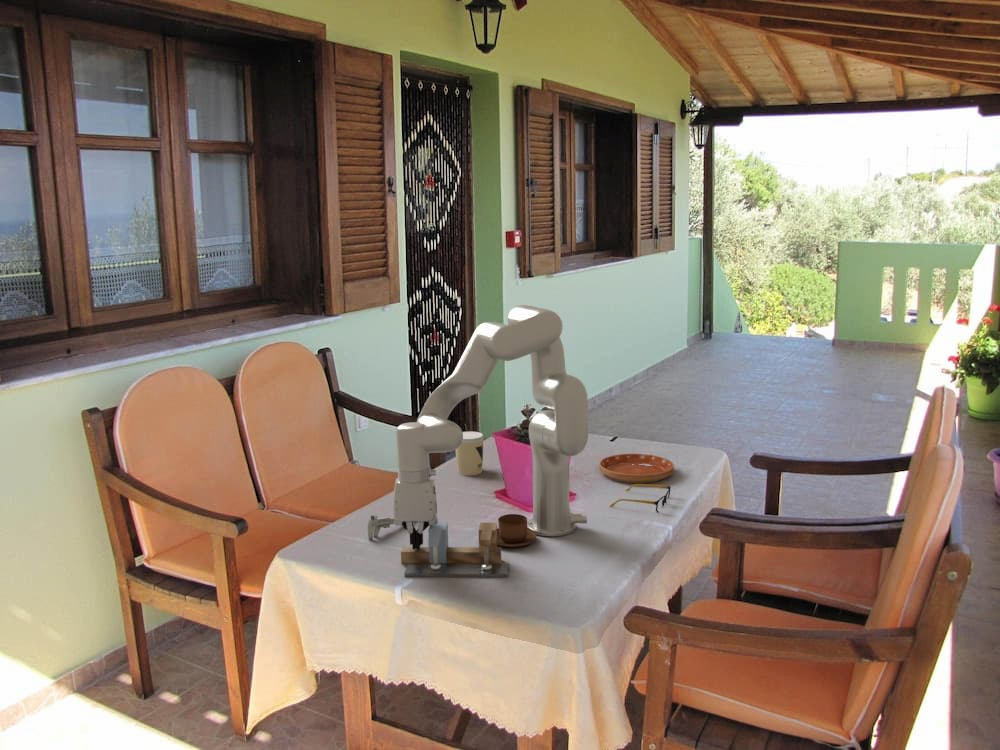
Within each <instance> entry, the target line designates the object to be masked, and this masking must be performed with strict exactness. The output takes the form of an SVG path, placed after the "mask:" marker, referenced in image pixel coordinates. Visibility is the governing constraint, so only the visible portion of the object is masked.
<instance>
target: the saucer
mask: <svg viewBox="0 0 1000 750" xmlns="http://www.w3.org/2000/svg"><path fill="white" fill-rule="evenodd" d="M632 464H634V465H632ZM639 464H649V465H652V466H645V465H639ZM598 468H599V472H601V473H602V474H603V475H605V476H607V478H608V479H609V478H610V479H611V480H613V481H618V482H622V481H623V482H624V483H629V482H631V483H630V484H646V483H645V482H649V483H654V482H653V481H655V482H658V481H657V480H659V481H661V479H662V480H664V479H666V478H667V477H669V476H671V475H672V474H673V473H674V469H675V464H674V463H673V462H672V461H671V460H669V459H667V458H665V457H662V456H658V455H653V454H644V453H621V454H614V455H610V456H606V457H604V458H602V459H601V460H599V463H598ZM665 477H666V478H665ZM663 478H664V479H663Z"/></svg>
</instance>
